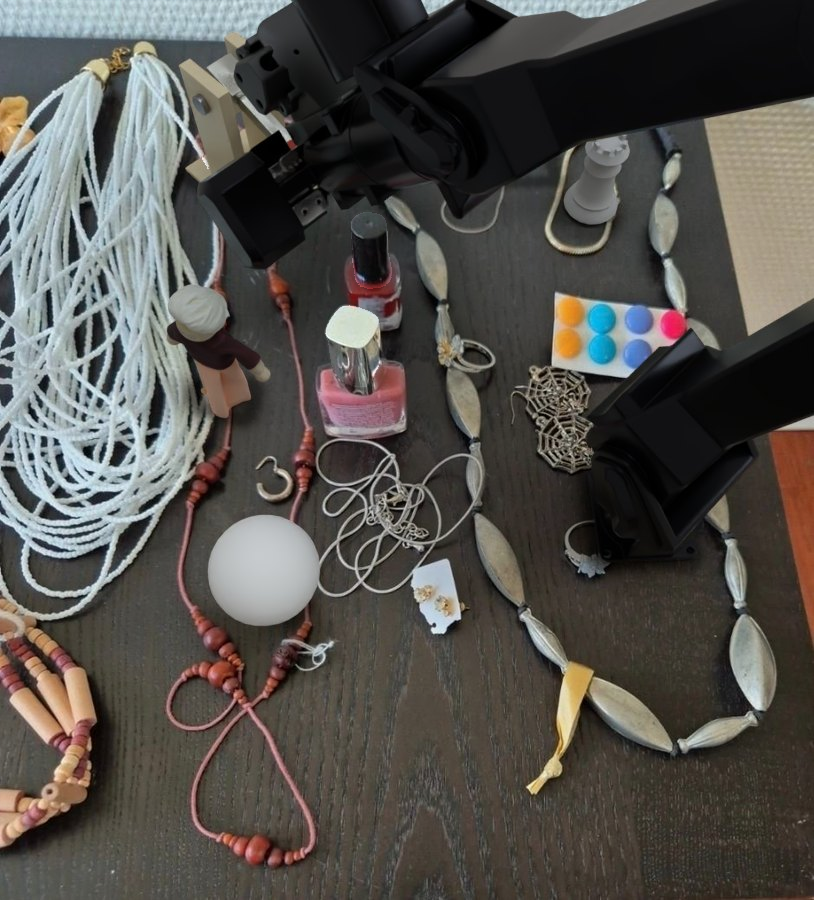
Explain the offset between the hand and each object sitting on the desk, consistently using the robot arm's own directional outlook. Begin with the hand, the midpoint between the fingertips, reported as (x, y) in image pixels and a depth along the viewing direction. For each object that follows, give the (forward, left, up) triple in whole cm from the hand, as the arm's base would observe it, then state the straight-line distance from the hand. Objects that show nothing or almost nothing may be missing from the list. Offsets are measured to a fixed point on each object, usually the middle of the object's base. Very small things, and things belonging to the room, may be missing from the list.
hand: (288, 165), depth 58 cm
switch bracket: (+4, +4, -6) cm, 8 cm away
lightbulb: (-31, +1, -6) cm, 32 cm away
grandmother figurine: (-16, +5, -6) cm, 18 cm away
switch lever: (+2, +1, +1) cm, 2 cm away
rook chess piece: (0, -23, -6) cm, 24 cm away
